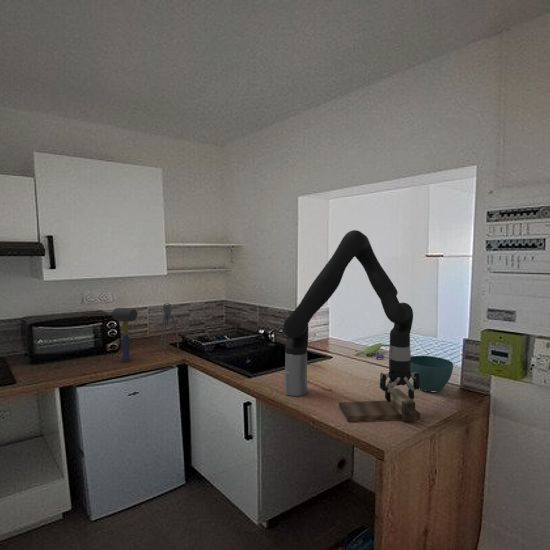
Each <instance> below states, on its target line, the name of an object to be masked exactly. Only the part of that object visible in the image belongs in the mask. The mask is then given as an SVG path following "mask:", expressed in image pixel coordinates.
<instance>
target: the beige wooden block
mask: <svg viewBox="0 0 550 550" xmlns="http://www.w3.org/2000/svg"><path fill="white" fill-rule="evenodd" d="M390 392H391V402H389V403H390V404H391V405H392V406H393V407H394V408H395V409H396V410H397V411H398V412H399V413H400V414H401V419H402V420H401V421H403V422H415V421H416V419H415V409H416V402H415V401H414V399H413V400H412V399H411V398H409V397H408V395H407V394H406V393H404V391H403V390H402V389H400V388H395V387H394V388H392V390H391V391H390Z"/></svg>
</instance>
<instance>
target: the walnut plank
mask: <svg viewBox="0 0 550 550" xmlns="http://www.w3.org/2000/svg"><path fill="white" fill-rule="evenodd" d="M338 408H339V410H340V411H342V412H341V413H342V415H343V414H344V415H343V416H344V418H345V417H346V418H345V419H347V420H346V421H347V422H348V421H361V422H370V421H369V420H383V421H394V420H393V419H401V414H400V413H399V412H398V411H397V410H396V409H395V408H394V407H393V406H392V405H391V404H390V403H389V402H388V401H387V400H368V401H363V400H362V401H347V402H346V401H344V402H338ZM415 418H420V419H421V413H420V412H419V411H418V410H417V409H416V408H415Z"/></svg>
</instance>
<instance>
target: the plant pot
mask: <svg viewBox="0 0 550 550" xmlns="http://www.w3.org/2000/svg"><path fill="white" fill-rule="evenodd" d="M453 369H454V363H453V362H452V360H449V359H447V358H443V357H437V356H431V355H411V370H410V372H411V373H413V372H414V371H415V372H417V373H418V374H419V385H420V389H419V390H421V389H422V390H421V391H423V390H426V391H439V390H440V391H442V389H444V387H446V385H447V384H448V382H449V380H450V379H451V377H452V373H453ZM411 379H412V380H413V378H412V376H411ZM426 391H425V392H426ZM440 391H439V392H440Z"/></svg>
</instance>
